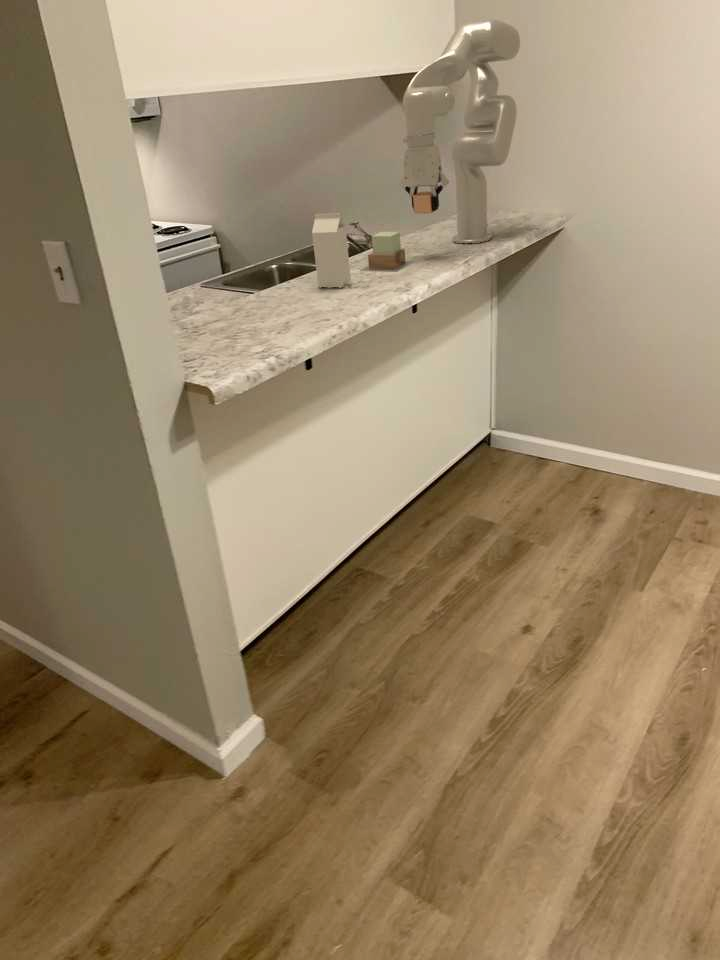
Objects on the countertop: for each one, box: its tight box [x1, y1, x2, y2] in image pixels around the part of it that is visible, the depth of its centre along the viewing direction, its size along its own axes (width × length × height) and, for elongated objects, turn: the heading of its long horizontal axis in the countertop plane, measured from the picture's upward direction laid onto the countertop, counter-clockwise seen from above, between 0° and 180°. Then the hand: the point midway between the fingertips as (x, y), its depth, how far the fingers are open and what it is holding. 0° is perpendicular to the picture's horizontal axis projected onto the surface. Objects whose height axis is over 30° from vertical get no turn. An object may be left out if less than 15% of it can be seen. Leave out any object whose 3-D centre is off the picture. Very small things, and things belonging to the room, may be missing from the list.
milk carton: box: [311, 212, 352, 289], centre depth 199 cm, size 7×7×19 cm
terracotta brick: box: [413, 190, 437, 215], centre depth 209 cm, size 5×5×5 cm
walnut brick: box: [367, 248, 406, 270], centre depth 213 cm, size 8×8×4 cm
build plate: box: [359, 260, 415, 273], centre depth 214 cm, size 12×12×1 cm
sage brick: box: [371, 231, 402, 254], centre depth 211 cm, size 6×6×5 cm
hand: (425, 209), depth 210 cm, fingers closed on terracotta brick, 5 cm apart
